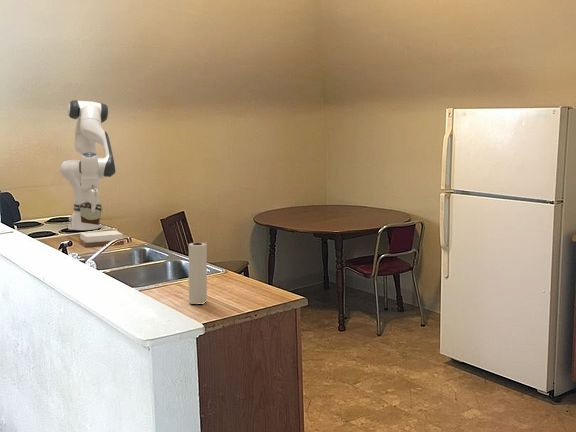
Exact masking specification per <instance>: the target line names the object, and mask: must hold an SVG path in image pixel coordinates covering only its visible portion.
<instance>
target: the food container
mask: <svg viewBox="0 0 576 432" xmlns="http://www.w3.org/2000/svg"><path fill="white" fill-rule="evenodd" d="M79 208H80V215H81V223H87V224H94V225H99V224H100V222H101V216H102V212H103V211H104V210H103V206H102V204H101V203H99V204H97V205H96V207H95V212H91V204H90V203H89V202H85V203H81V204H80V205H79ZM100 225H101V224H100Z"/></svg>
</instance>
